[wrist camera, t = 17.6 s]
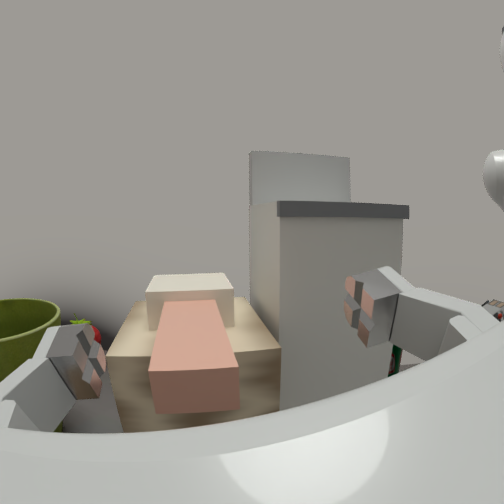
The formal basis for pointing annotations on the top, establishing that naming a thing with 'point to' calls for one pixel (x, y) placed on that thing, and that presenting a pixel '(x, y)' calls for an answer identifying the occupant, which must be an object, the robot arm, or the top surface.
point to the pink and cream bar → (192, 344)
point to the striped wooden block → (251, 404)
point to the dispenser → (316, 270)
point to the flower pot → (24, 332)
